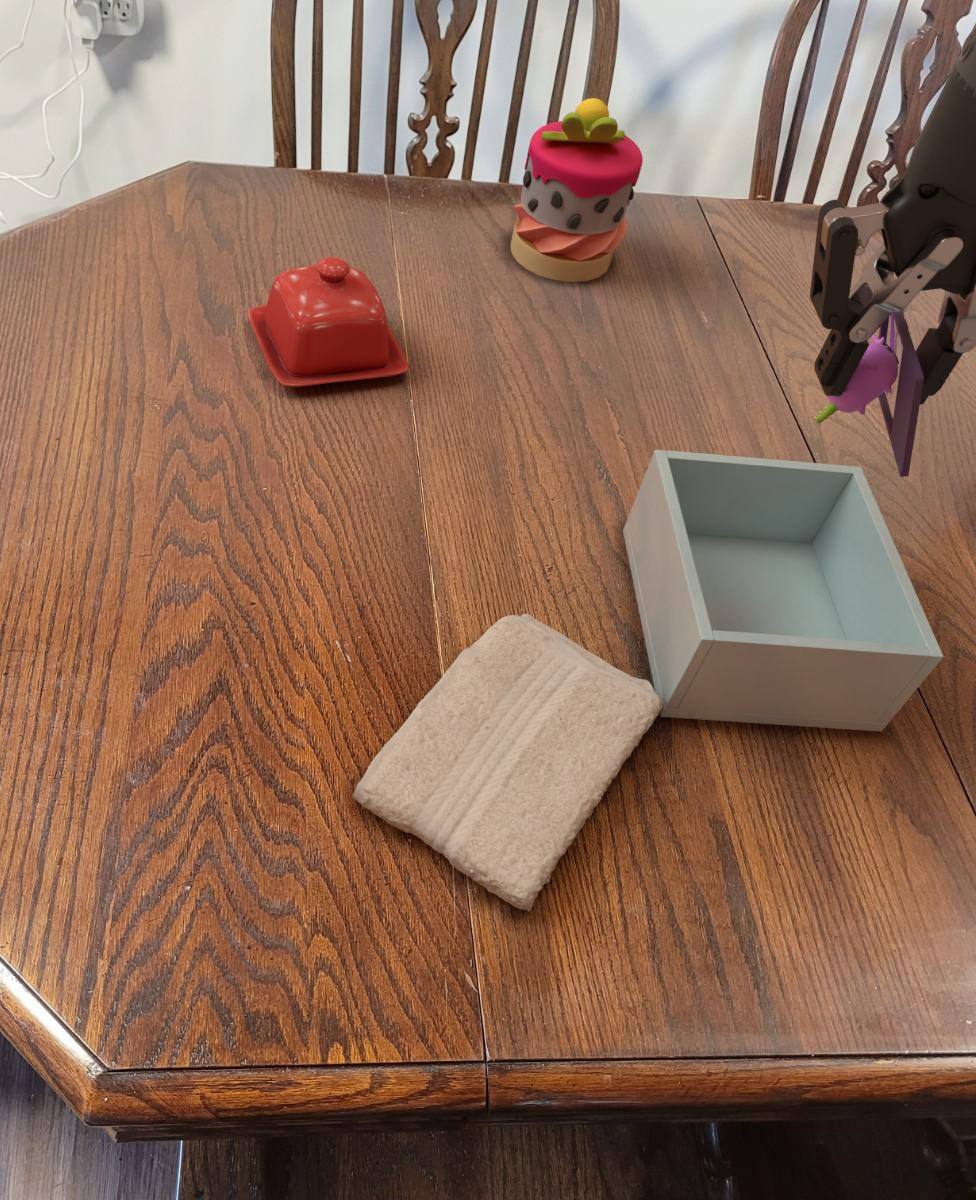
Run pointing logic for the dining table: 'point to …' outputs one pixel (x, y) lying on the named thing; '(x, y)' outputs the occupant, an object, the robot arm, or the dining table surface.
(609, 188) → the cake
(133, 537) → the dining table surface
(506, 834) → the washcloth
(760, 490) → the open box
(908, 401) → the pink dragon fruit
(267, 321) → the butter dish
